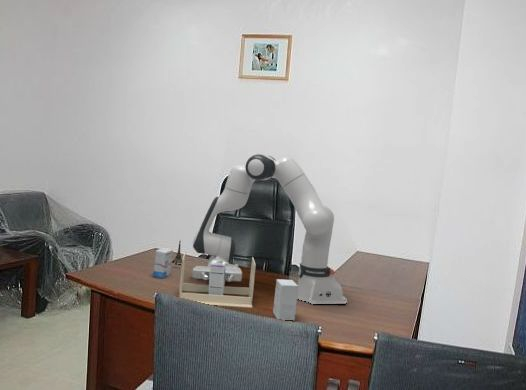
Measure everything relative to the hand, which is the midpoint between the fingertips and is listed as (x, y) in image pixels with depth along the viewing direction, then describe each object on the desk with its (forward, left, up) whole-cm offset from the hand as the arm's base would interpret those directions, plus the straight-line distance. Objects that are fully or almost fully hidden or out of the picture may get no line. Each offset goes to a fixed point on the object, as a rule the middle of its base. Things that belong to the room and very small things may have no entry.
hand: (217, 279), depth 186 cm
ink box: (+24, -26, -8) cm, 36 cm away
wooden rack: (0, 0, -8) cm, 8 cm away
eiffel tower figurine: (+19, -49, -8) cm, 53 cm away
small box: (-25, +17, -8) cm, 31 cm away
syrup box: (0, 0, -8) cm, 8 cm away
